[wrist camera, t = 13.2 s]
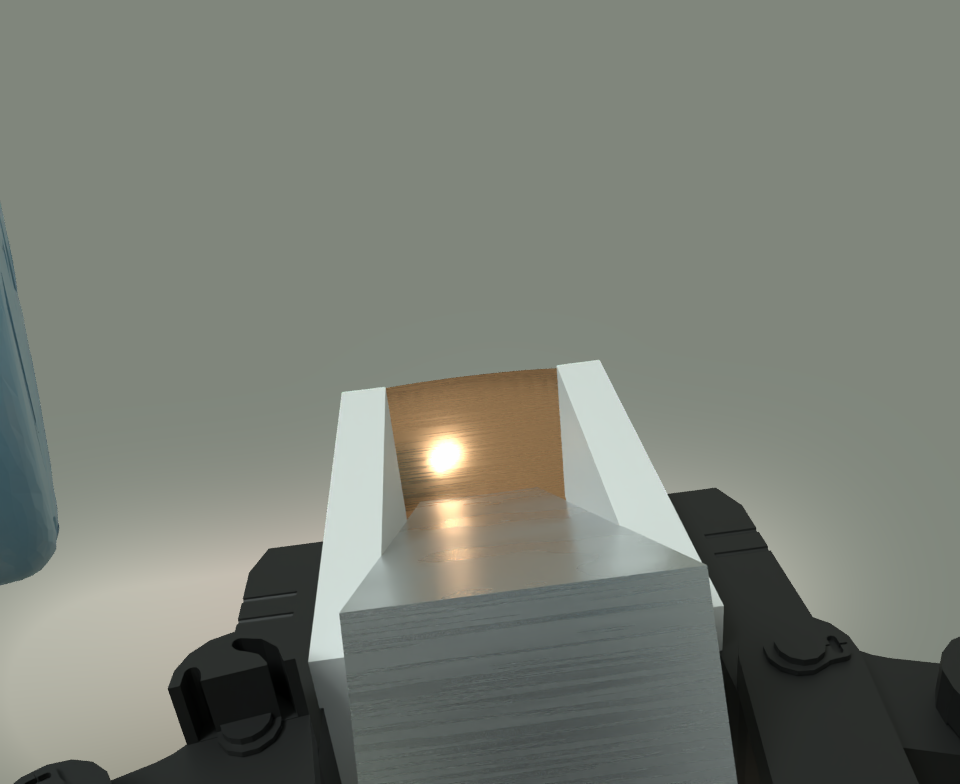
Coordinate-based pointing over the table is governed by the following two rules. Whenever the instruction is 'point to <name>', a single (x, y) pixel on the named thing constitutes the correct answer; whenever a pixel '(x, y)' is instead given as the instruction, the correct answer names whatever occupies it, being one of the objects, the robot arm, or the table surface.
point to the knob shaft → (524, 615)
